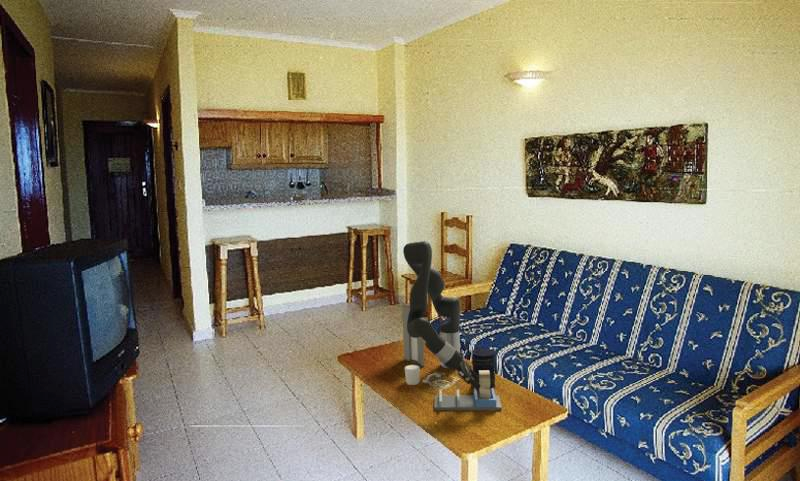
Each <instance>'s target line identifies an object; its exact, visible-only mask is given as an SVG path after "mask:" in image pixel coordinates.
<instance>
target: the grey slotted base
mask: <svg viewBox="0 0 800 481" xmlns="http://www.w3.org/2000/svg"><path fill="white" fill-rule="evenodd" d="M494 388H495V387H493V388H491V389H490V399H479V395H478V391H477V390H478V389H476V388H475V387H473V394H472V395H470V394H467V395H466V394H465V395H464V394H463V395H460V389H456V395H454V394H453V395H451V394H450V395H447V394H445V395H444V394H443V389H439V395H434V408H433V409H434V411H502V409H503V407H502V402H501V399H500V395H496V392H495V389H494Z"/></svg>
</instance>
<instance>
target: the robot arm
mask: <svg viewBox="0 0 800 481" xmlns="http://www.w3.org/2000/svg"><path fill="white" fill-rule="evenodd" d="M402 251H403V257H404V259H405V262H406V263H407V265H408V266H409V267H410V269H411V270H412V271H413V272H414V274H415V275H416V277H417V278H416V279H415V280H414V282H413V284H412V286H411V289H410V293H409V303H410V311H409V315H408V320H407V331H408V334H409V335H410V336H411V337H413V338H418V337H422V338H423V342H424V346H425V347H426V348H427V350H429V351H430V352H431V354H433V355H434V356H435V357H436V358H437V359H438V360H439V362H440V366H441V367H442V368H443V369H448V370H449V371H453V370H457V375H458V376H459V377H460V378H461V379H462V380H463V381H464V382H465V384H467V385H471V386H472V387H473V388H476V390H479V388H480V384H479V383H478V382H477V381H476V380H477V379H479V376H478V375H477V374H476V373H475V372H474V371H473V368H472V366H471V365H470V364H469V363H468V362H467V361H465V360H464V355H462V354H461V349H460V348H461V346H460V345H461V344H460V343H461V342H460V341H461V340H460V338H461V337H460V327H461V325H460V324H461V302H460V299H459V298H457V297H451V296H450V297H449V296H443V295H442V293H443V291H444V288H445V281H444V279H443V277H442V275H441V273H440V272H439V271H438V270H437V269H436V268H435V267H433V266H432V260H433V250H432V246H431V244H430V242H429V241H427V240H423V241H414V242H409V243H406V244H405V245H404V247H403V250H402ZM428 296H429V299H430V300H431V302H432V303H431V304H432V306H433V308H434V310H435V312H436V313H437V315H438V316H439V317H443V318H445V317H447V318H449V321H445V322H443V323H441V324H440V325H439V333H438V332H437V330H436V329H435V327H434V326H433V324H432V323H431V322H430V321H429V320H428V319H426V318H425V315H426V314H425V313H427V311H428Z"/></svg>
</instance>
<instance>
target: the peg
mask: <svg viewBox="0 0 800 481" xmlns="http://www.w3.org/2000/svg"><path fill="white" fill-rule="evenodd" d="M479 384H480V388H479V389H478V390H479V392H478V393H479V399H490V395H491V389H490V372H489V370H483V371H479Z"/></svg>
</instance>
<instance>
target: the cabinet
mask: <svg viewBox="0 0 800 481" xmlns="http://www.w3.org/2000/svg"><path fill="white" fill-rule="evenodd" d="M401 307H402V308H401V309H402V311H401V312H402V335H403V340H402V341H403V361H406V362H407V361H408V362H411V363H413V364H415V365H419V366H420V368H423V367H425V349H424V346H425V342H424V339H423V338H422V337H418V338H413V337H411V336H410V335H409V334H408V331H407V320H408V315H409V311H410V302H408V303H405V304H402V305H401Z"/></svg>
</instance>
